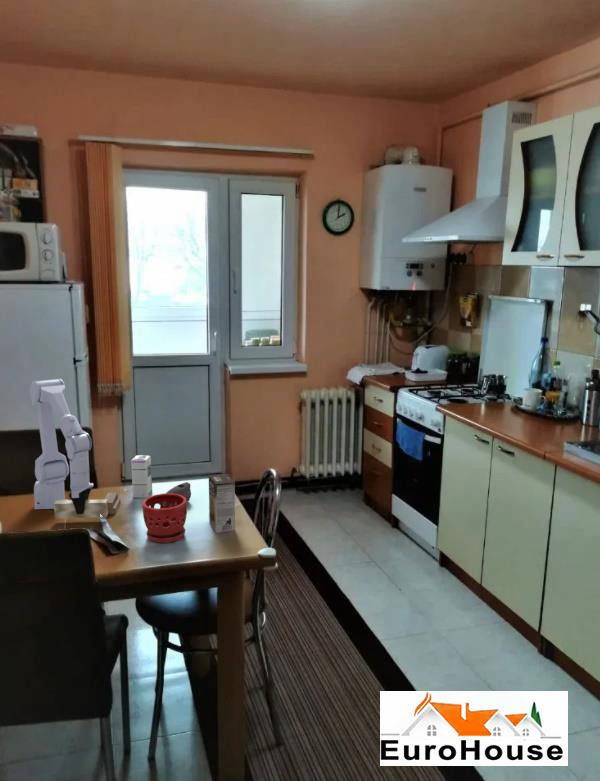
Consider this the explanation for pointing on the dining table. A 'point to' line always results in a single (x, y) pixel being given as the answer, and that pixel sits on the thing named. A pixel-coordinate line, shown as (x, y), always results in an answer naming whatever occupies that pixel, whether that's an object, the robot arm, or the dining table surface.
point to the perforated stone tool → (180, 491)
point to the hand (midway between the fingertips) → (81, 511)
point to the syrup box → (141, 476)
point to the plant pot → (165, 517)
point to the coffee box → (221, 503)
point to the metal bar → (91, 510)
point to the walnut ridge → (113, 502)
